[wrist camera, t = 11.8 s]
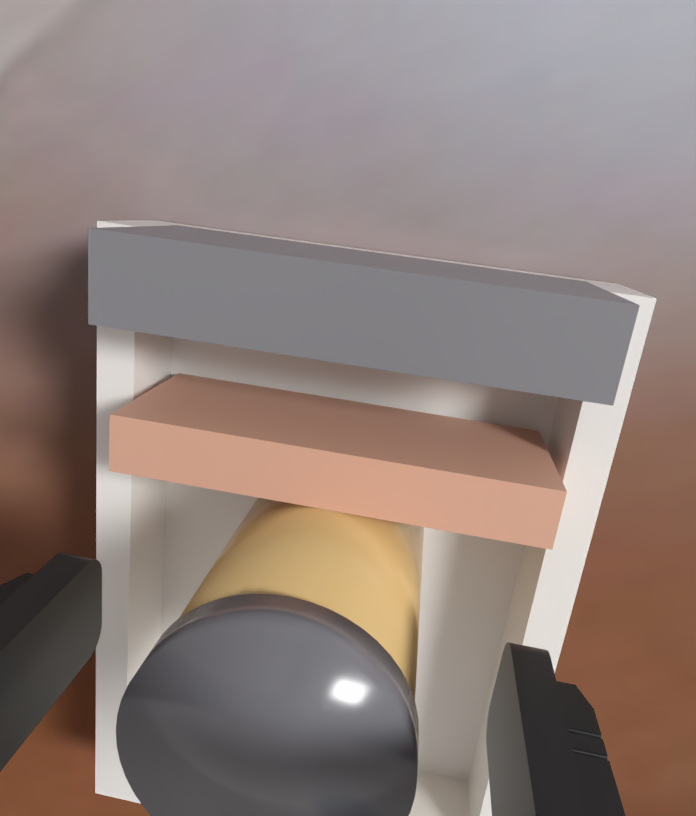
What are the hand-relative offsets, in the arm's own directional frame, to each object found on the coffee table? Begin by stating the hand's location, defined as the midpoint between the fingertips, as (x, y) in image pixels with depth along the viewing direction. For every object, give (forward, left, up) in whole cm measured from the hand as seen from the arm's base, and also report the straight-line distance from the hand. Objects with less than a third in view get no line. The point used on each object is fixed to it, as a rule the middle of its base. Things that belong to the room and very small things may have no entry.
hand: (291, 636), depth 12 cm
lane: (+2, 0, -8) cm, 8 cm away
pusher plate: (-2, 0, -7) cm, 7 cm away
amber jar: (+1, 0, -7) cm, 7 cm away
